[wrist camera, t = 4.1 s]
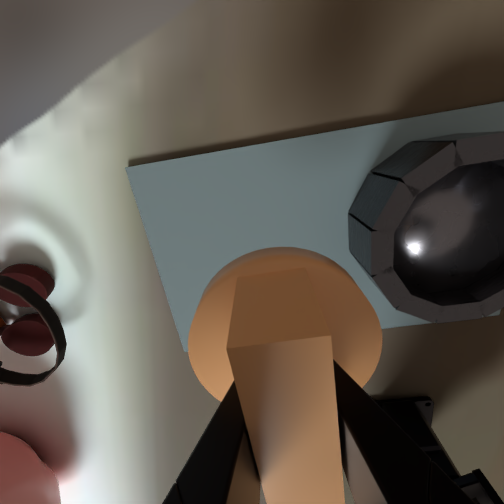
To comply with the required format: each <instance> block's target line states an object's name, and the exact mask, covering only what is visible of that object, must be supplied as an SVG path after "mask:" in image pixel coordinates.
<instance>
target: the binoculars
mask: <svg viewBox="0 0 504 504" xmlns="http://www.w3.org/2000/svg"><path fill="white" fill-rule="evenodd" d="M54 287H55V285H54V280H53V278H52V277H51V275H50V274H49V273H47V272H46V271H45V270H43V269H42V268H39V267H37V266H34V265H31V264H16V265H12V266H9V267H7V268H6V269H4V270H3V271H2V272H1V273H0V299H1V300H3V301H5V302H7V303H10V304H13V305H16V306H20V307H33V308H34V309H35V310H36V311H37V312H38V313H33V314H28V315H25V316H22V317H20V318H19V319H17V320H16V321H15V322H13V323H12V324H11V325H6V323H5V322H4V320H3V319H2V318H1V317H0V336H1V335H2V336H1V339H2V342H3V343H4V344H5V345H6V346H7V347H8V348H9V349H11V350H12V351H14V352H16V353H19V354H22V355H25V356H38V355H42V354H44V353H46V352H47V351H49V350H50V348H51V347H52V346H53V345H54V344H55V347H56V351H57V358H56V364H55V366H54V367H53V368H52V369H51V370H49V371H46V372H44V373H41V374H22V373H18V372H14V371H9V370H6V369H4V368H1V366H2V362H1V361H0V384H3V383H4V384H9V385H14V386H33V385H35V384H38V383H41V382H44V381H45V380H46V379H47V378H48V377H49V376H50V375H51V374H52V373H53V372H54V371H55V370H56V369H57V368H58V366H59V365H60V363H61V362H62V361H63V359H64V356H65V350H66V345H67V344H66V339H65V334H64V330H63V328H62V325H61V323H60V320H59V318H58V316H57V315H56V313H55V312H54V310H53V309H52V307H51V306H50V304H49V303H48V302H47V301H46V299H47V298H48V296H49V295H50V294H51V292H52V291H53V290H54Z"/></svg>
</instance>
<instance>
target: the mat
mask: <svg viewBox="0 0 504 504" xmlns="http://www.w3.org/2000/svg"><path fill="white" fill-rule="evenodd" d="M495 131H504V101H503V102H498V103H492V104H486V105H480V106H475V107H469V108H463V109H458V110H452V111H446V112H440V113H435V114H429V115H423V116H417V117H412V118H406V119H400V120H395V121H389V122H383V123H377V124H372V125H366V126H360V127H354V128H349V129H343V130H337V131H332V132H326V133H320V134H314V135H309V136H303V137H297V138H291V139H286V140H280V141H274V142H269V143H263V144H257V145H251V146H246V147H240V148H234V149H228V150H223V151H217V152H211V153H206V154H200V155H194V156H188V157H183V158H177V159H171V160H166V161H160V162H154V163H148V164H143V165H137V166H131V167H125V169H126V172H127V175H128V178H129V181H130V184H131V188H132V191H133V194H134V197H135V200H136V203H137V206H138V209H139V212H140V215H141V219H142V222H143V225H144V228H145V231H146V234H147V237H148V240H149V243H150V247H151V250H152V253H153V256H154V259H155V262H156V265H157V268H158V271H159V274H160V278H161V281H162V284H163V287H164V290H165V293H166V296H167V299H168V302H169V306H170V309H171V312H172V315H173V318H174V321H175V324H176V327H177V330H178V333H179V337H180V340H181V343H182V346H183V349H184V352H188V336H189V331H190V327H191V323H192V321H193V318H194V315H195V312H196V310H197V307H198V304H199V302H200V299H201V297H202V294H203V292H204V290H205V288H206V287H207V285H208V283H209V282H210V280H211V279H212V278H213V277H214V276H215V275H216V273H217V272H219V271H220V270H221V269H222V268H223V267H224V266H225V265H227V264H228V263H230V262H231V261H233V260H234V259H236V258H238V257H240V256H242V255H244V254H247V253H250V252H253V251H256V250H260V249H265V248H271V247H296V248H302V249H307V250H310V251H314V252H317V253H319V254H321V255H324V256H326V257H328V258H330V259H331V260H333V261H335V262H336V263H337V264H339V265H340V266H341V267H342V268H344V269H345V270H346V271H347V272H348V274H349V275H350V276H351V277H352V278H353V279H354V281H355V282H356V284H357V285H358V287H359V288H360V289H361V291H362V292H363V294H364V295H365V296H366V298H367V299H368V301H369V302H370V304H371V305H372V307H373V308H374V310H375V312H376V314H377V316H378V319H379V322H380V326H381V329H385V328H393V327H402V326H410V325H419V324H427V323H432V322H429V321H426V320H423V319H420V318H418V317H415V316H412V315H409V314H406V313H403V312H401V311H398V310H396V309H395V308H393V306H392V305H391V304H390V303H389V302H388V300H387V299H386V298H385V297H384V296H383V294H382V293H381V292H380V291H379V289H378V288H377V287H376V286H375V285H374V283H373V282H372V281H371V280H370V279H369V277H368V276H367V275H366V273H365V272H364V271H363V269H362V268H361V267H360V265H359V264H358V263H357V261H356V260H355V258H354V257H353V256H352V254H351V253H350V250H349V240H348V214H349V213H350V212H349V209H350V207H351V205H352V203H353V201H354V199H355V197H356V195H357V193H358V192H359V190H360V188H361V186H362V184H363V182H364V180H365V178H366V176H367V174H368V173H370V174H372V173H371V171H370V170H372V169H373V168H374V167H376V166H377V165H379V164H380V163H381V162H383V161H384V160H385V159H387V158H388V157H389V156H391V155H392V154H393V153H395V152H396V151H397V150H399V149H400V148H401V147H403V146H404V145H405V144H407V143H408V142H411V141H415V140H421V139H427V138H433V137H438V136H444V135H450V134H456V133H476V132H495ZM500 311H501V309H500V310H498V311H496V312H494V313H492V314H490V315H488V316H495V315H500ZM482 317H484V316H483V315H482ZM434 323H436V322H434Z"/></svg>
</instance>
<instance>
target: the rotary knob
mask: <svg viewBox="0 0 504 504" xmlns="http://www.w3.org/2000/svg"><path fill="white" fill-rule="evenodd" d="M381 351H382V330H381V326H380V322H379V319H378V316H377V314H376V312H375V310H374V308H373V307H372V305H371V304H370V302H369V301H368V299H367V298H366V296H365V295H364V294H363V292H362V291H361V289H360V288H359V287H358V285H357V284H356V282H355V281H354V279H353V278H352V277H351V276H350V275H349V274H348V272H347V271H346V270H345V269H344V268H342V267H341V266H340V265H339V264H337V263H336V262H335V261H333V260H331V259H330V258H328V257H326V256H324V255H321V254H319V253H317V252H314V251H310V250H307V249H302V248H296V247H271V248H265V249H260V250H256V251H253V252H250V253H247V254H244V255H242V256H240V257H238V258H236V259H234V260H233V261H231V262H230V263H228V264H227V265H225V266H224V267H223V268H222V269H221V270H220V271H219V272H217V273H216V275H215V276H214V277H213V278H212V279H211V280H210V282H209V283H208V285H207V287H206V288H205V290H204V292H203V294H202V297H201V299H200V302H199V304H198V307H197V310H196V312H195V315H194V318H193V321H192V323H191V327H190V331H189V336H188V353H189V358H190V362H191V365H192V368H193V370H194V372H195V374H196V376H197V378H198V379H199V381H200V382H201V383H202V385H203V386H204V387H205V388H206V390H207V391H209V392H210V393H211V394H212V395H213V396H214V397H215V398H216V399H218V400H219V401H221V402H222V400H223V398H224V397H225V395H226V393H227V391H228V390H229V388H230V386H231V384H232V383H233V381H235V384H236V388H237V392H238V396H239V400H240V404H241V407H242V411H243V415H244V419H245V423H246V426H247V430H248V434H249V438H250V442H251V445H252V449H253V453H254V457H255V461H256V464H257V468H258V472H259V476H260V480H261V483H262V487H263V491H264V495H265V499H266V502H267V504H345V499H344V487H343V474H342V462H341V450H340V438H339V426H338V414H337V401H336V389H335V377H334V365H333V359H334V360H335V361H336V362H337V363H338V364H339V365H340V366H341V367H342V368H343V369H344V370H345V371H346V372H347V373H348V374H349V375H350V376H351V378H352V379H353V380H354V381H355V382H356V383H357V384H358V385H359V386H360V387H361V388H363V386H364V385H365V384H366V383H367V382H368V380H369V379H370V377H371V376H372V374H373V373H374V371H375V369H376V367H377V364H378V362H379V359H380V355H381Z"/></svg>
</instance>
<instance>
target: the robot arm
mask: <svg viewBox="0 0 504 504" xmlns="http://www.w3.org/2000/svg"><path fill="white" fill-rule="evenodd" d="M333 365H334V377H335V389H336V401H337V414H338V426H339V438H340V450H341V462H342V466H343V469H344V472H345V475H346V478H347V481H348V484H349V487H350V490H351V492H352V495H353V498H354V501H355V504H504V503H503V501H502V500H501V498H500V497H499V496H498V494H497V493H496V491H495V490H494V488H493V487H492V486H491V484H490V483H489V481H488V480H487V479H486V477H485V476H484V474H483V473H482V472H481V470H480V469H476V470H473V471H472V473H469V474H466V475H463V476H461V475H460V473H459V472H458V470H457V468H456V467H455V465H454V464H453V462H452V460H451V459H450V457H449V455H448V454H447V452H446V451H445V449H444V447H443V446H442V444H441V442H440V441H439V439H438V437H437V436H436V434H435V433H434V431H433V429H432V428H431V423H432V415H433V407H434V402H433V401H432V399H431V398H430V397H416V398H406V399H395V400H385V401H374V400H373V399H372V398H371V397H370V396H369V395H368V394H367V393H366V392H365V391H364V390H363V389H362V388H361V387H360V386H359V385H358V384H357V383H356V382H355V381H354V380H353V379H352V378H351V376H350V375H349V374H348V373H347V372H346V371H345V370H344V369H343V368H342V367H341V366H340V365H339V364H338V363H337V362H336V361H335V360H334V359H333ZM260 481H261V480H260V476H259V472H258V468H257V464H256V461H255V457H254V453H253V449H252V445H251V442H250V438H249V434H248V430H247V426H246V423H245V419H244V415H243V411H242V407H241V404H240V400H239V396H238V392H237V388H236V384H235V381H233V383H232V384H231V386H230V388H229V390H228V391H227V393H226V395H225V397H224V398H223V400H222V402H221V403H220V405H219V407H218V409H217V410H216V412H215V414H214V415H213V417H212V419H211V421H210V422H209V424H208V426H207V428H206V429H205V431H204V433H203V434H202V436H201V438H200V440H199V441H198V443H197V445H196V447H195V448H194V450H193V452H192V453H191V455H190V457H189V459H188V460H187V462H186V464H185V466H184V467H183V469H182V471H181V472H180V474H179V476H178V478H177V479H176V483H177V484H176V483H174V484H173V486H172V488H171V489H170V491H169V493H168V495H167V496H166V498H165V500H164V501H163V503H162V504H259V501H260Z"/></svg>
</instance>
